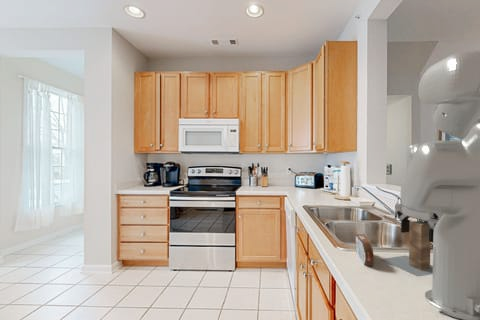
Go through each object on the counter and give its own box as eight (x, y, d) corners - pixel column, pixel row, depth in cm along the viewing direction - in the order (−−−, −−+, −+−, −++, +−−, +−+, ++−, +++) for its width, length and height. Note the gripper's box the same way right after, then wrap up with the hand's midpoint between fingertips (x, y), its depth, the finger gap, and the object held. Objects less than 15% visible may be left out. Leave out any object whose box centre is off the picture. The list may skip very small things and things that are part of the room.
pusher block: (430, 268, 86) (430, 223, 86) (420, 270, 85) (421, 224, 84) (418, 263, 90) (418, 220, 89) (408, 265, 88) (409, 221, 88)
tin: (374, 270, 86) (375, 244, 86) (363, 270, 86) (364, 243, 86) (363, 254, 101) (363, 231, 100) (354, 253, 101) (354, 230, 101)
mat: (446, 273, 84) (446, 271, 84) (417, 278, 80) (417, 276, 80) (405, 257, 97) (406, 255, 97) (379, 261, 93) (379, 259, 93)
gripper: (457, 186, 80) (455, 244, 81) (405, 179, 96) (403, 228, 97) (439, 187, 78) (437, 247, 78) (388, 180, 94) (387, 230, 95)
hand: (418, 236), depth 88 cm, fingers open, 9 cm apart
